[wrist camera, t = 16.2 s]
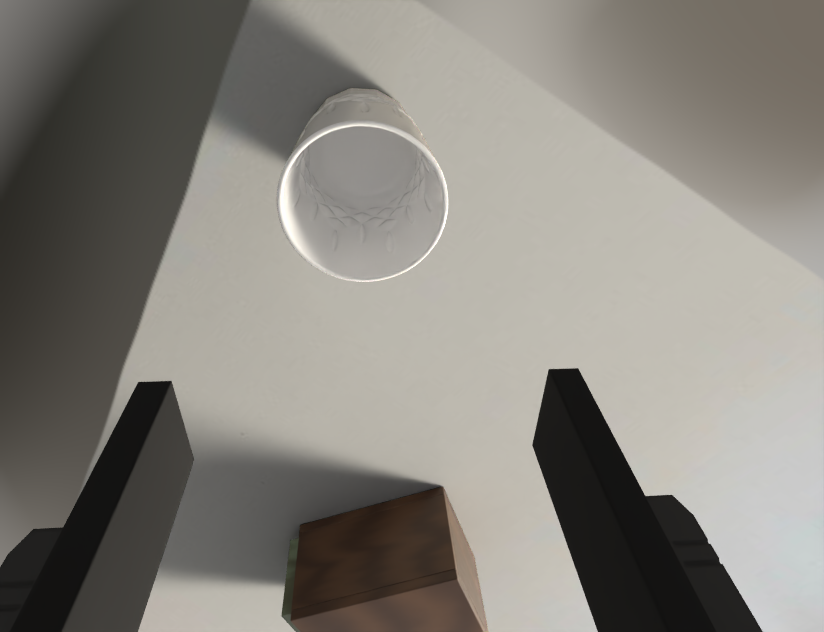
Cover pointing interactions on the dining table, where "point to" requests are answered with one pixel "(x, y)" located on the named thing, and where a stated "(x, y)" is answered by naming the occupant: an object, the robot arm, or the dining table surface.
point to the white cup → (362, 189)
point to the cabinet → (388, 570)
